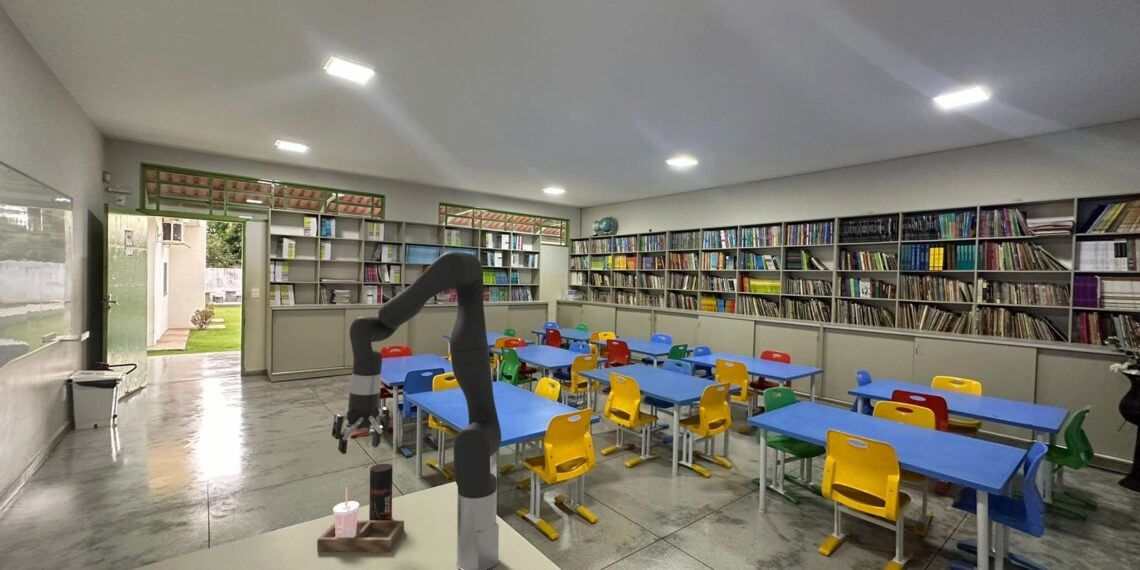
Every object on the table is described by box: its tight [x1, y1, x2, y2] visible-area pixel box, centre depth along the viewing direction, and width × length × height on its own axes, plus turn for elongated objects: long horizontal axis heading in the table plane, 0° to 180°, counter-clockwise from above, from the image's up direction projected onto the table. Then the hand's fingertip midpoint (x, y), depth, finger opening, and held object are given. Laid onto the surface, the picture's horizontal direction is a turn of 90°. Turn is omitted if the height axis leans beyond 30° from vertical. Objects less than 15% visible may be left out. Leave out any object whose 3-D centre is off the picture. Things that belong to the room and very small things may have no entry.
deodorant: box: [368, 463, 394, 521], centre depth 128 cm, size 6×6×15 cm
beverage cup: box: [332, 486, 360, 537], centre depth 117 cm, size 6×6×14 cm
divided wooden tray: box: [316, 519, 405, 553], centre depth 117 cm, size 18×10×3 cm, turn 90°
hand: (359, 449), depth 121 cm, fingers open, 8 cm apart
